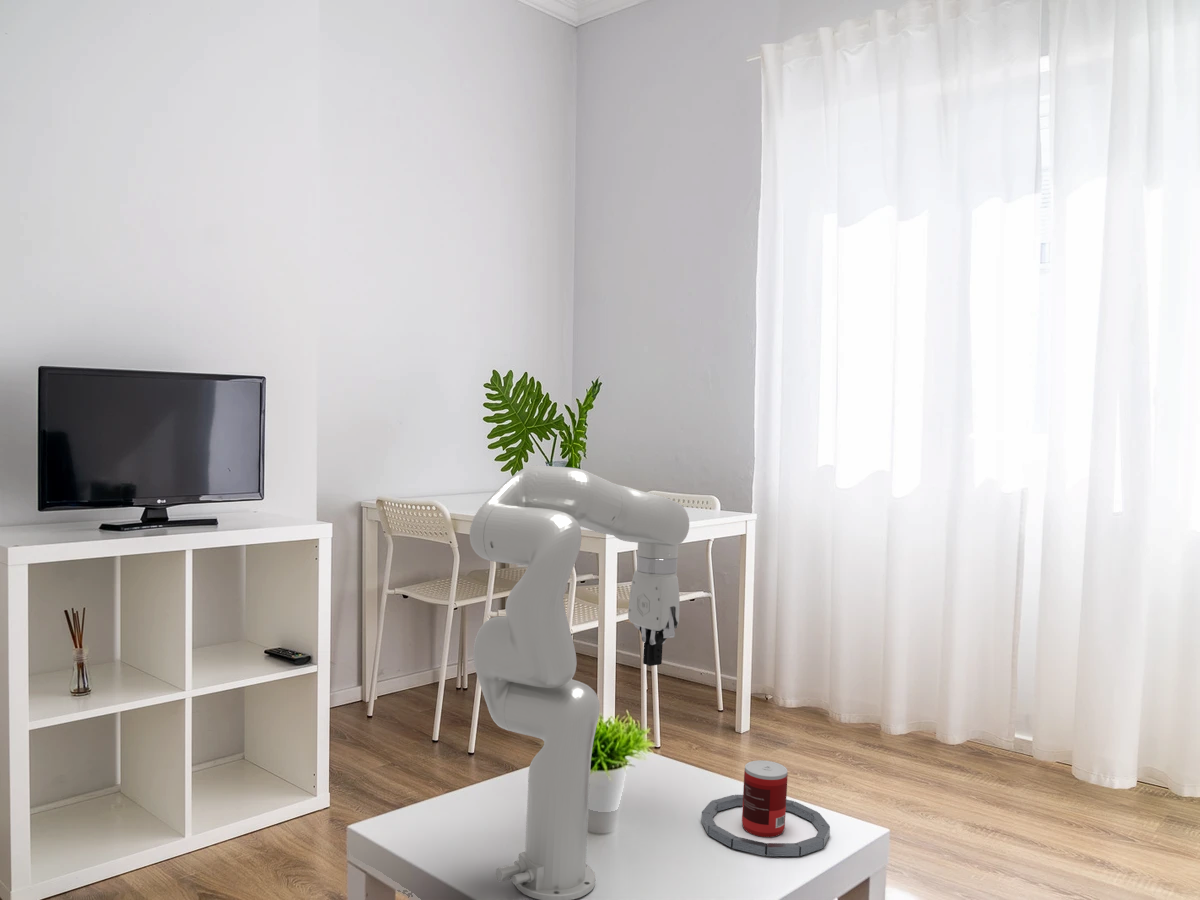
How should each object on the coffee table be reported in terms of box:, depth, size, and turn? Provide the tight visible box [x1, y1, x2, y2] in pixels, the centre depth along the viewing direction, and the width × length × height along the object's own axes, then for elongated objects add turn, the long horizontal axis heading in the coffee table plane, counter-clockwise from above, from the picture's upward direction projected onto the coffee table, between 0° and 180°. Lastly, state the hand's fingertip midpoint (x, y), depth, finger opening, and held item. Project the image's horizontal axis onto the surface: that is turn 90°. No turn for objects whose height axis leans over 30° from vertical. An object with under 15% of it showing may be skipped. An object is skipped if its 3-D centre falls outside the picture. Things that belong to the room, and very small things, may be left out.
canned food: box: [741, 759, 789, 838], centre depth 166 cm, size 8×8×11 cm
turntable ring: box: [700, 794, 831, 857], centre depth 166 cm, size 22×22×3 cm
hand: (652, 664), depth 172 cm, fingers closed
